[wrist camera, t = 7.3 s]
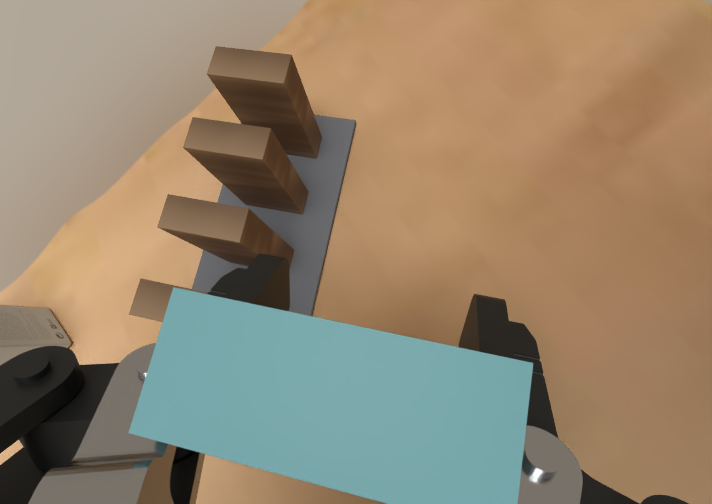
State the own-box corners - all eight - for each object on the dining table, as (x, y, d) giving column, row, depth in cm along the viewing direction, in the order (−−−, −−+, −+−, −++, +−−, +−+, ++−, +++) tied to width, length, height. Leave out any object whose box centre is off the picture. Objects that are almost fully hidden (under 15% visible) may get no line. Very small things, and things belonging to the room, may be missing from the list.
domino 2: (316, 158, 34) (283, 83, 24) (261, 150, 34) (206, 73, 25) (322, 137, 34) (291, 54, 24) (266, 129, 35) (215, 46, 25)
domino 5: (434, 409, 14) (513, 538, 5) (302, 377, 15) (128, 433, 5) (444, 352, 15) (533, 362, 5) (314, 324, 15) (172, 287, 6)
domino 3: (303, 214, 33) (262, 159, 23) (245, 204, 33) (183, 147, 24) (308, 191, 33) (271, 128, 23) (252, 182, 34) (192, 117, 24)
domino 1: (272, 337, 31) (214, 333, 21) (212, 323, 31) (129, 314, 22) (279, 311, 31) (224, 296, 21) (219, 298, 32) (140, 278, 22)
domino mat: (283, 440, 29) (281, 441, 29) (160, 408, 31) (156, 409, 30) (356, 123, 35) (355, 120, 34) (248, 108, 36) (246, 105, 36)
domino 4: (288, 274, 32) (239, 242, 22) (229, 262, 32) (157, 227, 23) (294, 249, 32) (248, 208, 22) (236, 239, 33) (167, 194, 23)
